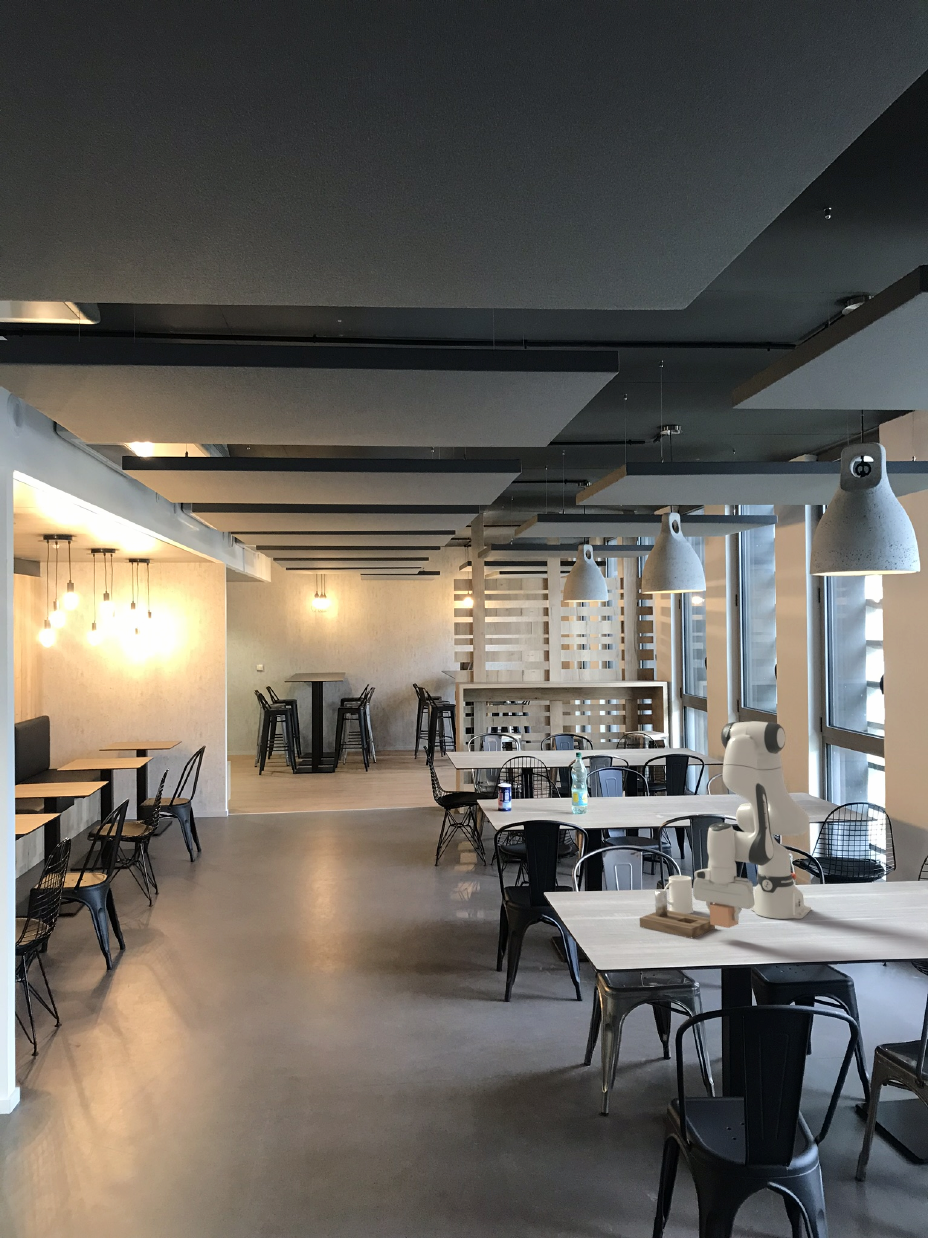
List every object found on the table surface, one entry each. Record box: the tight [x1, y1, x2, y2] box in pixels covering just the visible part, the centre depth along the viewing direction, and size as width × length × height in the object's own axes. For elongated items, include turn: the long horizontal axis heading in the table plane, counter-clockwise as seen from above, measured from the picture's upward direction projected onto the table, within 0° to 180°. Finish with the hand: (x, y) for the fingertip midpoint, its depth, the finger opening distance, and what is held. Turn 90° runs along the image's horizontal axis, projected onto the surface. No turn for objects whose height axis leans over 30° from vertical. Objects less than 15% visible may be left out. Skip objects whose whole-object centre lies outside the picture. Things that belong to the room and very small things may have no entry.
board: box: [639, 909, 716, 938], centre depth 290 cm, size 15×20×3 cm
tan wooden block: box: [709, 903, 739, 929], centre depth 276 cm, size 6×6×6 cm
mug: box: [663, 874, 694, 915], centre depth 311 cm, size 12×8×12 cm
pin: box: [654, 889, 668, 917], centre depth 295 cm, size 4×4×8 cm
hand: (724, 918), depth 276 cm, fingers closed on tan wooden block, 6 cm apart
